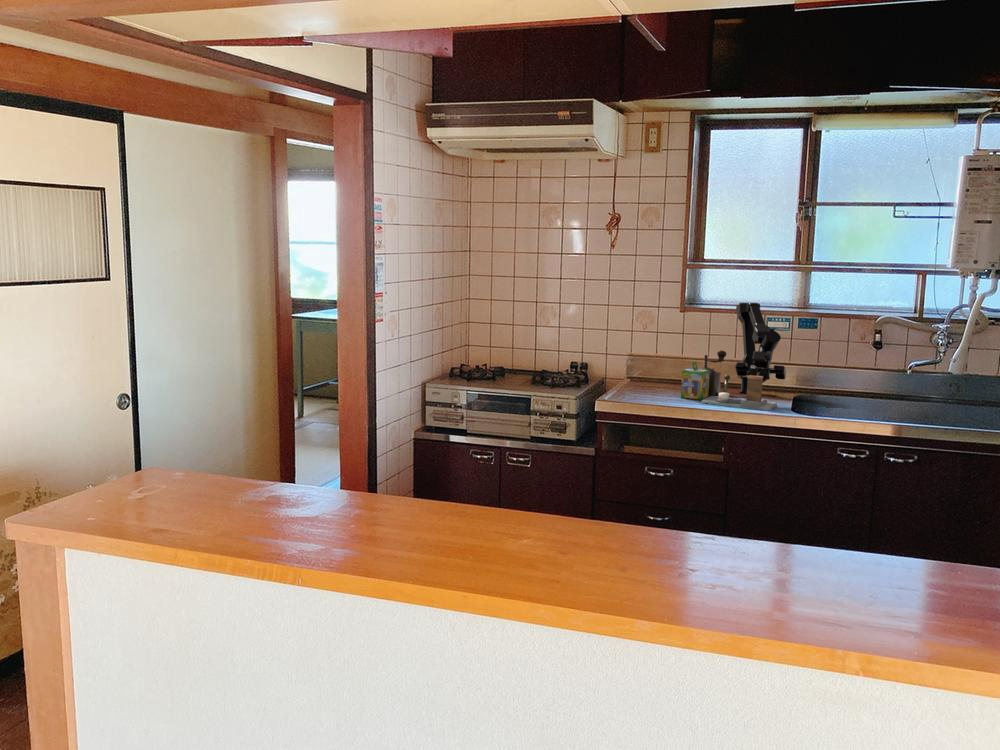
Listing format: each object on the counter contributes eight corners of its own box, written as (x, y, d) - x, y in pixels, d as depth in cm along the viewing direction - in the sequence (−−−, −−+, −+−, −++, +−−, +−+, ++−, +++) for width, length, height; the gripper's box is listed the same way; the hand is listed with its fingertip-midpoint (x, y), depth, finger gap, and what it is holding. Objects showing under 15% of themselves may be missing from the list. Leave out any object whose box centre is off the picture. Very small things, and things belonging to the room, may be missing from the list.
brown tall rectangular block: (747, 402, 333) (749, 375, 331) (761, 403, 330) (763, 376, 329) (745, 403, 330) (747, 376, 329) (759, 405, 328) (761, 377, 326)
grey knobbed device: (713, 397, 350) (716, 353, 347) (688, 394, 356) (690, 351, 353) (725, 392, 363) (728, 350, 360) (700, 389, 369) (702, 348, 366)
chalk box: (702, 400, 341) (704, 364, 339) (680, 398, 346) (681, 362, 344) (709, 397, 349) (711, 361, 347) (687, 395, 354) (689, 359, 352)
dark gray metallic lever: (722, 394, 341) (725, 375, 343) (727, 394, 340) (731, 376, 342) (721, 392, 339) (724, 373, 341) (726, 393, 338) (729, 374, 340)
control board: (711, 398, 347) (711, 387, 347) (776, 405, 334) (777, 394, 334) (700, 403, 335) (701, 392, 334) (768, 410, 322) (769, 399, 322)
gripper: (737, 341, 338) (728, 372, 330) (786, 345, 329) (778, 376, 321) (741, 359, 346) (733, 390, 338) (789, 363, 336) (781, 394, 329)
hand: (756, 387), depth 331 cm, fingers closed, pressing on brown tall rectangular block
